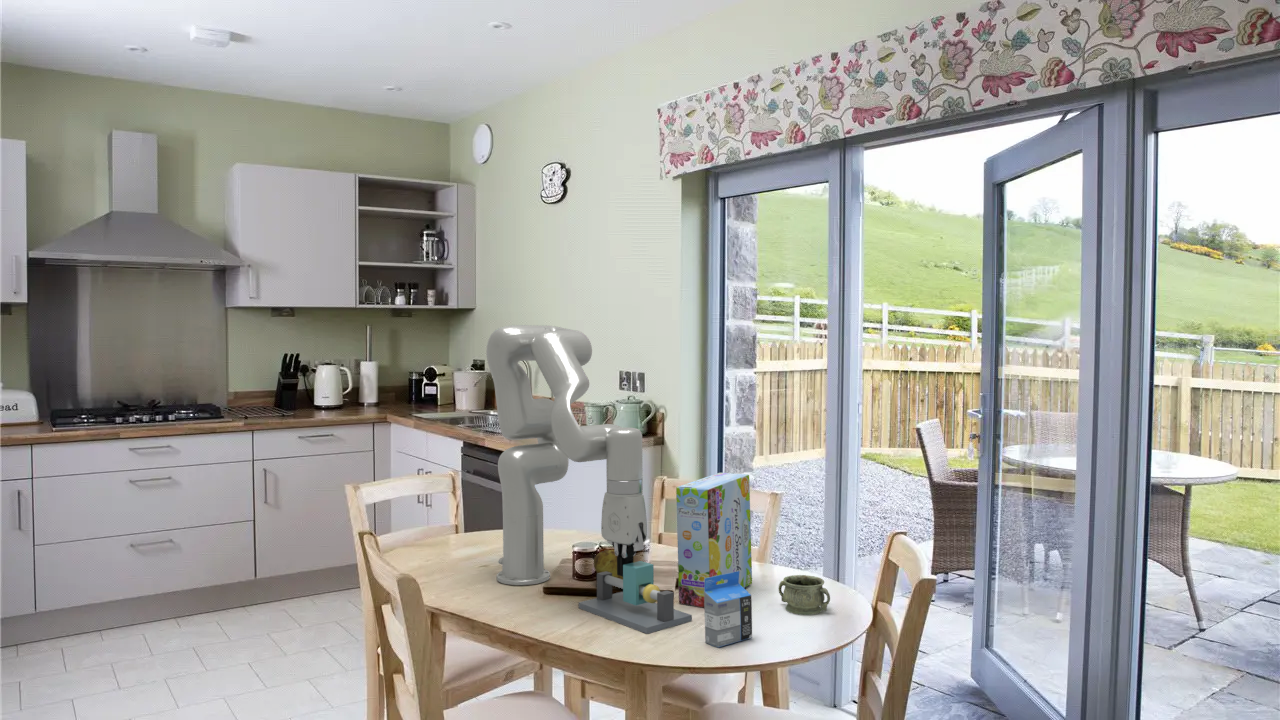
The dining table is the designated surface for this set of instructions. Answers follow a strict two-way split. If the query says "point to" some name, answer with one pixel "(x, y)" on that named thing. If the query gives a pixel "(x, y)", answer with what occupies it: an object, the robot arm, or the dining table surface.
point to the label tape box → (726, 610)
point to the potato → (606, 563)
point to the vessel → (804, 594)
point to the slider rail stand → (635, 606)
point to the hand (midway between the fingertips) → (625, 574)
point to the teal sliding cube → (636, 581)
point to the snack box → (713, 533)
